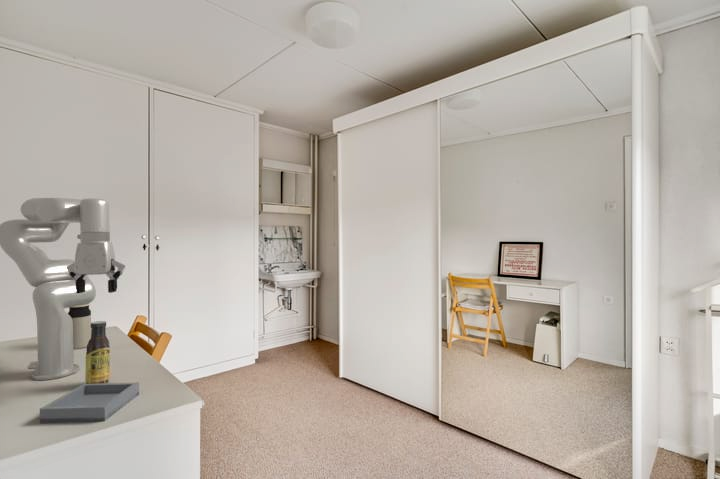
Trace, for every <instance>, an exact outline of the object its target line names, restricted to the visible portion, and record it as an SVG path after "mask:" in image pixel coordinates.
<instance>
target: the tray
mask: <svg viewBox="0 0 720 479" xmlns="http://www.w3.org/2000/svg"><path fill="white" fill-rule="evenodd" d="M139 395H140V382H138V381H137V382H108V383H97V384H86V383H82V384H81V385H79V386H78V387H76V388H74V389H72V390H70V391H69V392H67V393H65V394H64V395H62V396H60V397H58V398H57V399H56V398H55V399H54V400H53V401H51V402H49V403H48V404H46V405H44V406H42V407H41V408H39V423H40V424H43V423H44V424H45V423H46V424H48V423H78V422H84V423H86V422H105V421H107V420H108V419H109V418H111V417H112V416H113V415H115V413H117V412H119V411H120V410H121V409H122V408H123V407H125V406H127V404H129V403H130V402H132V400H134V399H135V398H136V397H137V396H139Z"/></svg>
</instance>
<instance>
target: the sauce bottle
mask: <svg viewBox="0 0 720 479" xmlns="http://www.w3.org/2000/svg"><path fill="white" fill-rule="evenodd" d="M106 328H107V321H105V320H103V321H102V320H100V321H91V339H90V340H89V341H88V344H87V347H86V352H85V374H84V375H85V379H84V380H85V381H84V382H85V384H97V383H109V379H110V358H111V357H110V356H111V355H110V353H111V352H110V350H111V349H110V340H109V338H108V337H107V336H106V335H107V334H106V330H107V329H106Z"/></svg>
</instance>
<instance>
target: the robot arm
mask: <svg viewBox="0 0 720 479" xmlns="http://www.w3.org/2000/svg"><path fill="white" fill-rule="evenodd" d="M20 213H21V215H22V216H23V217H24V218H25V219H21V218H20V219H10V220H7V221H4V222H2V223H0V248H1V249H2V250H3V252H4V253H5V254H6V255H7V256H8V257H9V258H11V259H12V261H13V262H14V263H15V264H16V265H17V267H18V268H19V271H20V272H21V273H22V276H23V277H24V278H25V281H27V283H28V284H29V285H30V286H32V287H33V288H34V289H33V291H32V300H33V305H34V306H33V307H34V310H35V313H36V316H35V317H36V328H37V329H36V330H37V331H36V332H37V360H36V361H30V362H29V364H28V365H27V367H26V368H27V370H34V372H33V373H32V374H31V377H32V379H33V380H36V381H47V380H48V381H49V380H54V379H59V378H63V377H67V376H70V375H72V374H75V373H76V372H78V371H79V370H80V365H79V364H77V363H74V362H75V360H74V359H75V358H74V349H73V321H72V318H71V316H70V315H69V314H68V312H66V310H65V309H69V307H74V306H80V305H85V304H88V303H89V304H90V303H92V302H93V301H94V300H95V298H96V296H97V294H96V293H97V291H96V287H95V285H94V283H93V281H92V280H91V279H90V277H89V276H90V275H91V276H92V275H95V276H96V275H106V276H107V278H109V279H108V280H107V291H108V292H107V293H109V294H110V293H111V294H112V293H115V292H117V289H118V280H119V278H120V277H121V276H122V275H123V272H124V270H125V268H126V265H125V264H123V263H121V262H119V261H117V260H116V258H115V250H114V245H113V242H111V235H110V204H109V201H107V199H103V198H83V199H79V198H64V197H62V198H61V197H32V198H29V199H26V200H25V201H24V202H23V203H22V204H21V206H20ZM73 223H76V224H77V223H79V224H80V225H79V226H80V234H77V236H76V238H77V239H78V240H80V242H78V243H77V244H76V249H75V254H74V255H75V257H74V259H68V258H67V259H50V258H49V257H48V256H47V253H45V251H43V250H42V249H41V248H40V247H38V246H36V245H33V243H53V242H56V241H58V240H60V239H61V237H62V236H63V234H64V232H65V231H66V230H67V228H68V227H69V225H70V224H73ZM116 268H117V270H116Z"/></svg>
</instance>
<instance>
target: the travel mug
mask: <svg viewBox="0 0 720 479" xmlns="http://www.w3.org/2000/svg"><path fill="white" fill-rule="evenodd" d="M90 305H91V304H90V303H88V304H85V305H80V306H74V307H68V309H69V311H68V312H67V313H68V314H69V315H70V316H71V318H72V321H73V350H79V349H78V348H80V349H85V348H87V344H88V341H89V340H90V339H91V329H92V328H91V323H92V310H91V309H90ZM84 347H85V348H84Z"/></svg>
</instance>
